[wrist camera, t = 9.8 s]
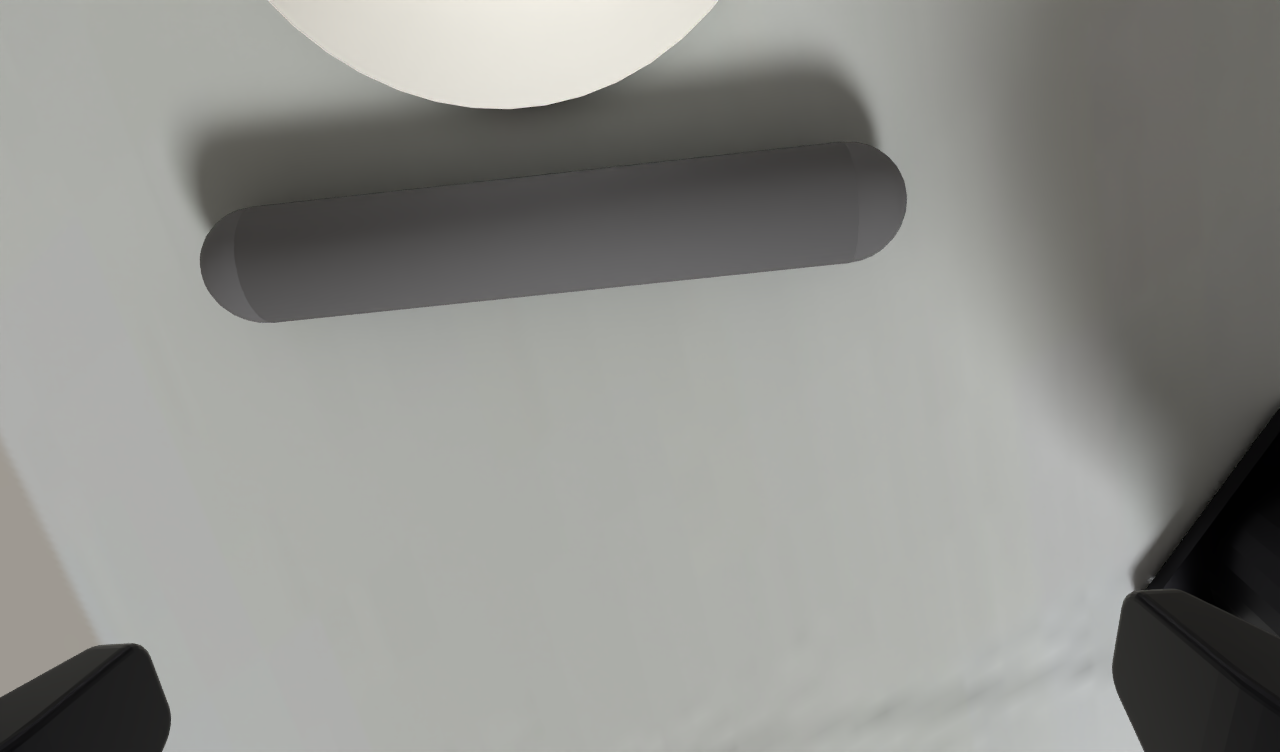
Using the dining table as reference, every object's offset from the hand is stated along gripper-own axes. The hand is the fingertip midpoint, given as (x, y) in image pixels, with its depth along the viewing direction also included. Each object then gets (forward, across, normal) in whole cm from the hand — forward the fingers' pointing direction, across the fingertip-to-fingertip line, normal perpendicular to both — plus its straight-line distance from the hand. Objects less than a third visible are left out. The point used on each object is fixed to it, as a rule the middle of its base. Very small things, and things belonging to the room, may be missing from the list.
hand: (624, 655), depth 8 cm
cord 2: (+12, +2, -2) cm, 12 cm away
